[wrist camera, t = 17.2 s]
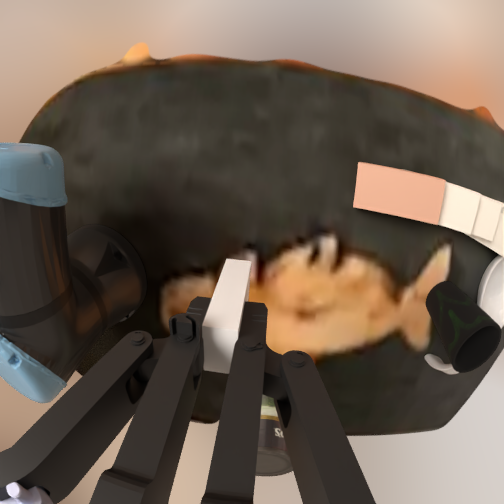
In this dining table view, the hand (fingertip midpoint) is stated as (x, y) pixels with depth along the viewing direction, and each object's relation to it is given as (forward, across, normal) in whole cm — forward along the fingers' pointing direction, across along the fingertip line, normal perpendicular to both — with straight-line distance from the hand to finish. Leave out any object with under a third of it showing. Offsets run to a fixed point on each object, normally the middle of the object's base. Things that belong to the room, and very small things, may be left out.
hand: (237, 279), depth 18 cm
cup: (+16, +28, -9) cm, 34 cm away
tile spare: (+16, +11, +4) cm, 20 cm away
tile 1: (+16, +16, +5) cm, 23 cm away
